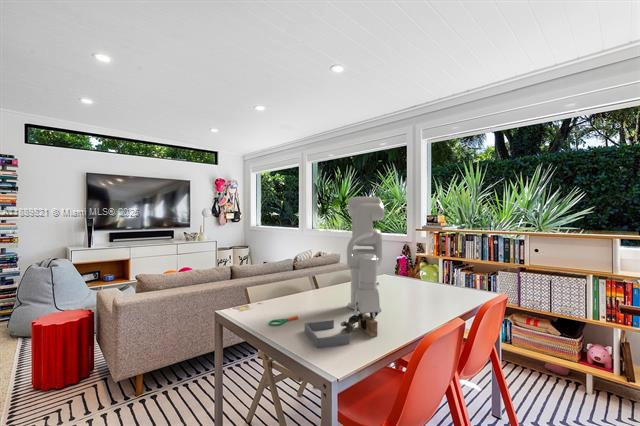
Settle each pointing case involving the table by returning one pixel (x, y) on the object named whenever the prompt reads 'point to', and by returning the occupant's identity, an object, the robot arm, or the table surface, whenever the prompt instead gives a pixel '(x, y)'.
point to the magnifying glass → (282, 321)
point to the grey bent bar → (325, 340)
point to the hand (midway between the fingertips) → (367, 327)
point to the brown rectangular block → (369, 326)
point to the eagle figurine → (350, 323)
